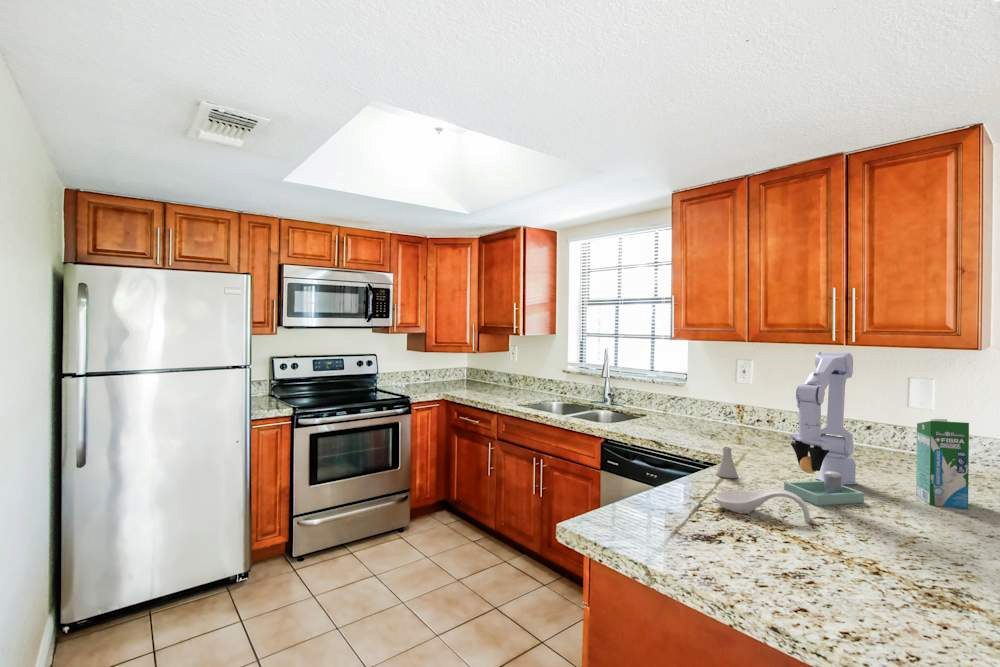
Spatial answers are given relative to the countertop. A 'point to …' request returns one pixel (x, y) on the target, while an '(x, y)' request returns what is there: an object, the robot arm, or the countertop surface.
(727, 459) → the flask
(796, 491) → the tray
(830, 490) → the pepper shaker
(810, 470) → the ball
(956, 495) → the milk carton
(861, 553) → the countertop surface
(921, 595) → the countertop surface
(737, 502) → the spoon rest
